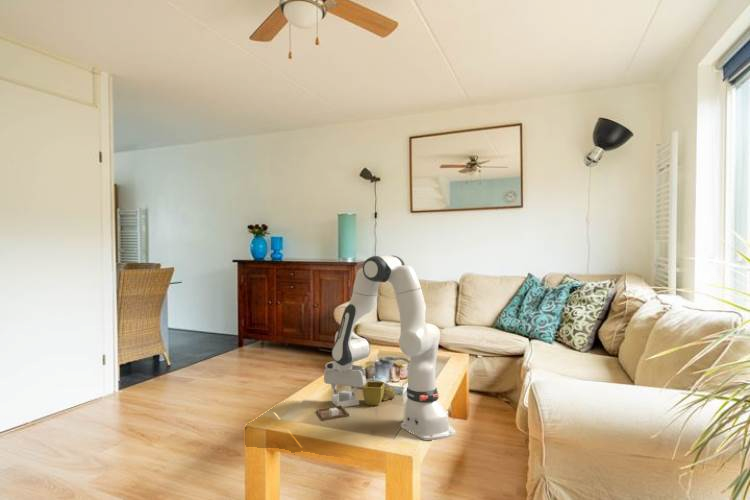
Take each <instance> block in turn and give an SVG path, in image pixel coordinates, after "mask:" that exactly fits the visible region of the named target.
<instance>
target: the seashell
mask: <svg viewBox="0 0 750 500" xmlns="http://www.w3.org/2000/svg"><path fill="white" fill-rule="evenodd" d="M395 397H396V391H395V388H393V387H391V386H388V385H386V386H385V387H384V395H383V398H382V400H381V402H382V401H383V402H386V401H388V400H393V399H395Z"/></svg>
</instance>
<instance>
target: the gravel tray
mask: <svg viewBox="0 0 750 500" xmlns="http://www.w3.org/2000/svg"><path fill="white" fill-rule="evenodd" d="M331 408H337V409H338V410H339V415H337V416H331V417H330V416H329V409H331ZM316 412H317V414H318V415H319V416H320V418H321V420H322V421H324V422H325V421H330V420H336V419H343V418H348V417H350V413H349V412H348V411H347V410H346V409H345V407H342V406H336V405H335V406H329V407H321V408H317V409H316Z"/></svg>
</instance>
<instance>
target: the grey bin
mask: <svg viewBox="0 0 750 500" xmlns="http://www.w3.org/2000/svg"><path fill="white" fill-rule="evenodd" d="M331 403H333V405H335V406H342V407H343V408H346V407H353V406H359V405H360V398H359V397H357V395H356V396H352V400H346V401H340V402H339V394H333V395H332V394H331Z"/></svg>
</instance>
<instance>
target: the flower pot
mask: <svg viewBox="0 0 750 500" xmlns="http://www.w3.org/2000/svg"><path fill="white" fill-rule="evenodd" d="M385 385H386V382H385V381H371V380H370V381H367V380H366V385H365V386H364V387H361V388H362V393H363V399H364V401H365V403H366V405H367V406H379V405H381V402H382V401H383V400H382V398H383V395H384V387H386V386H385ZM381 400H382V401H381Z"/></svg>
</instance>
